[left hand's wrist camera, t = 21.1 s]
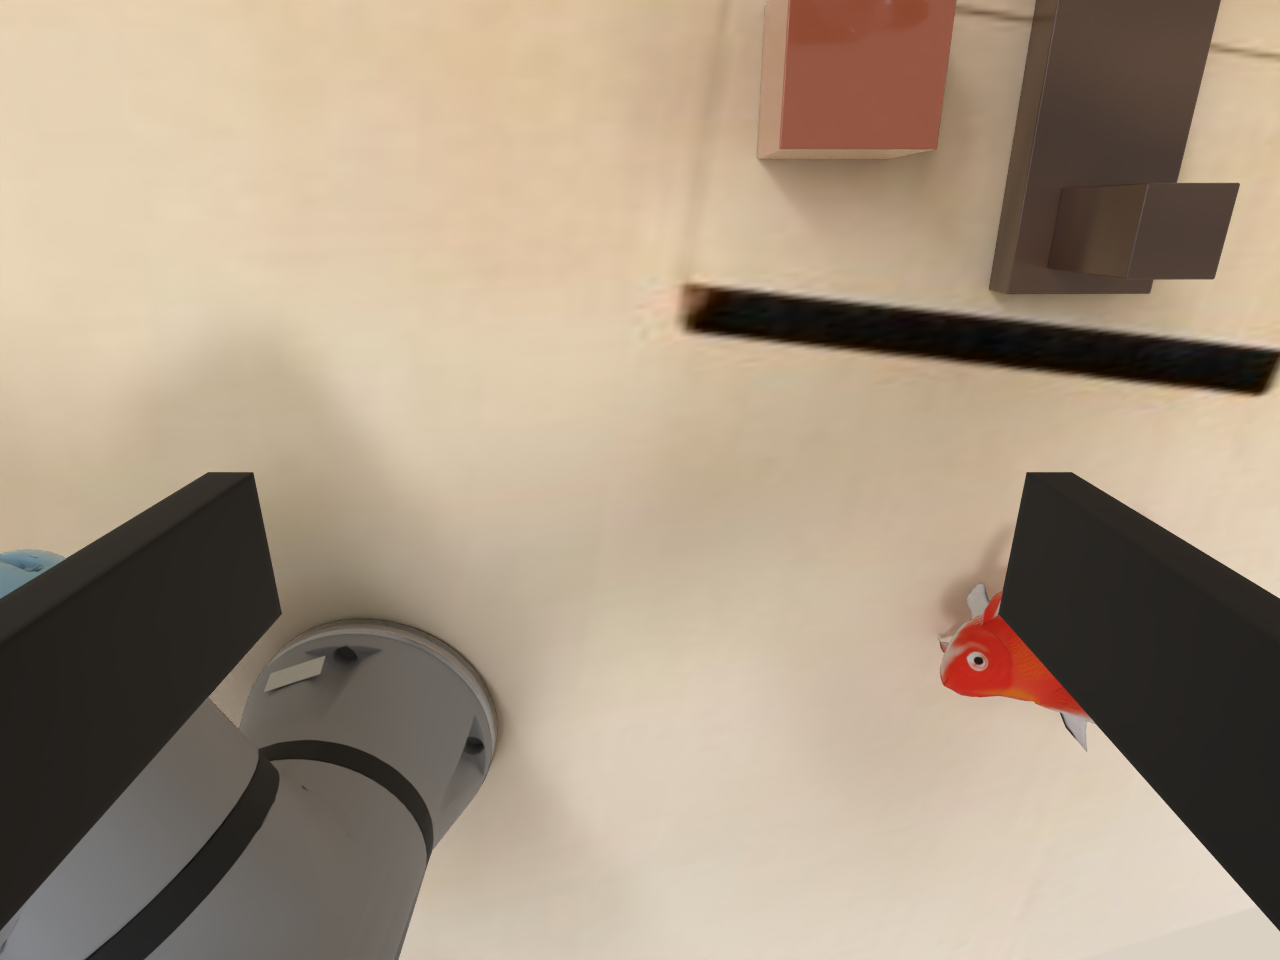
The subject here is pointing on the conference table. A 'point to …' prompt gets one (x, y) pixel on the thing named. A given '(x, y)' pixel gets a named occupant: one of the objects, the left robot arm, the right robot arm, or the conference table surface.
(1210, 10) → the walnut stand
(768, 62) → the cap block
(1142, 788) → the conference table surface
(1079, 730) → the fish
